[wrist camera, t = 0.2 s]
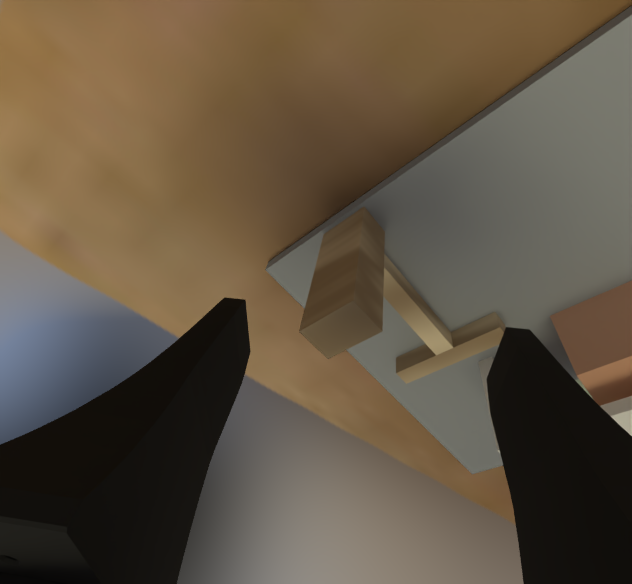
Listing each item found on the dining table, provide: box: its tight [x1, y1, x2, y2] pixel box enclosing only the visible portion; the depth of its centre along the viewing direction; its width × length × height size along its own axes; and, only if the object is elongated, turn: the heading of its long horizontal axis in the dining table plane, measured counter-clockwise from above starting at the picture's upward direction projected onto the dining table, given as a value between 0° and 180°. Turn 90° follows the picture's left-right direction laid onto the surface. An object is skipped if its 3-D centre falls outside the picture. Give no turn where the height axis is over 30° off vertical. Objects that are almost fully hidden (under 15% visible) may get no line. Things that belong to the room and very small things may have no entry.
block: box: [550, 281, 632, 406], centre depth 20 cm, size 4×4×4 cm
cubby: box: [265, 6, 632, 474], centre depth 19 cm, size 21×25×6 cm
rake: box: [299, 207, 506, 384], centre depth 19 cm, size 10×6×7 cm, turn 41°
